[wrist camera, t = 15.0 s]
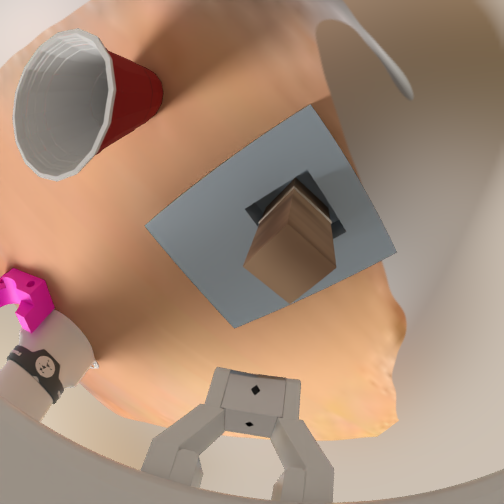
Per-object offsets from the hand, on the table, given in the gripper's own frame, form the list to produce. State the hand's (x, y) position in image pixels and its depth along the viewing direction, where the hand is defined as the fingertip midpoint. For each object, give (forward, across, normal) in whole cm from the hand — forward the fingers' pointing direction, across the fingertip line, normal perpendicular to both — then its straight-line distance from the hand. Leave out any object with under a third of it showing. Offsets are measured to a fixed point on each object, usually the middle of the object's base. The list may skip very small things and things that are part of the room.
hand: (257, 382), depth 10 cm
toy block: (+21, +45, +22) cm, 54 cm away
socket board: (+20, +1, +3) cm, 20 cm away
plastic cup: (+21, +15, -9) cm, 27 cm away
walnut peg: (+19, -1, +1) cm, 19 cm away
